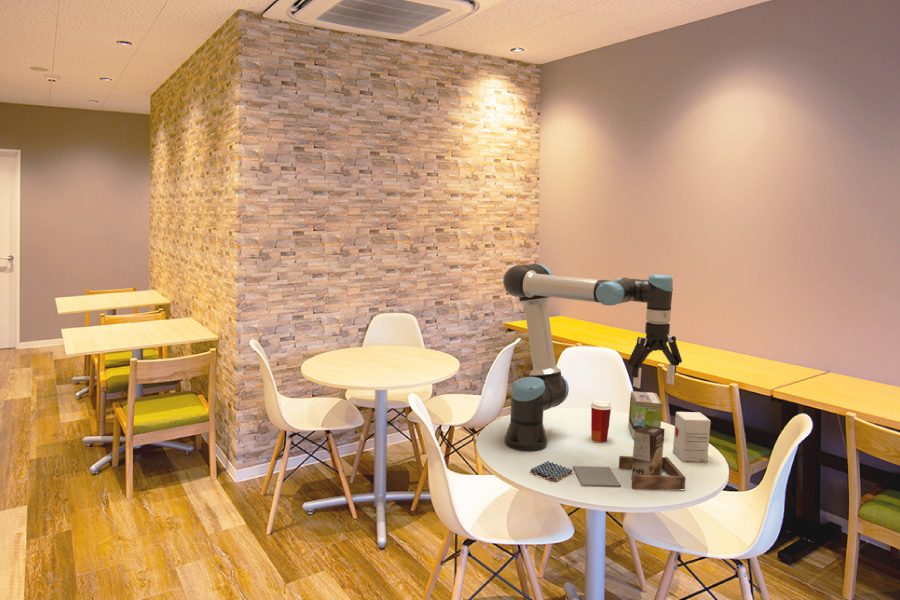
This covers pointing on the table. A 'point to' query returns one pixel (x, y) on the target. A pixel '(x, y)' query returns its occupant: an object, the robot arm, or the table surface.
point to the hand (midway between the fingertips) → (653, 385)
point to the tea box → (644, 410)
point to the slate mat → (596, 476)
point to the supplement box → (691, 436)
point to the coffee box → (648, 451)
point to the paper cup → (600, 420)
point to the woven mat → (551, 471)
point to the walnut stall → (655, 476)
